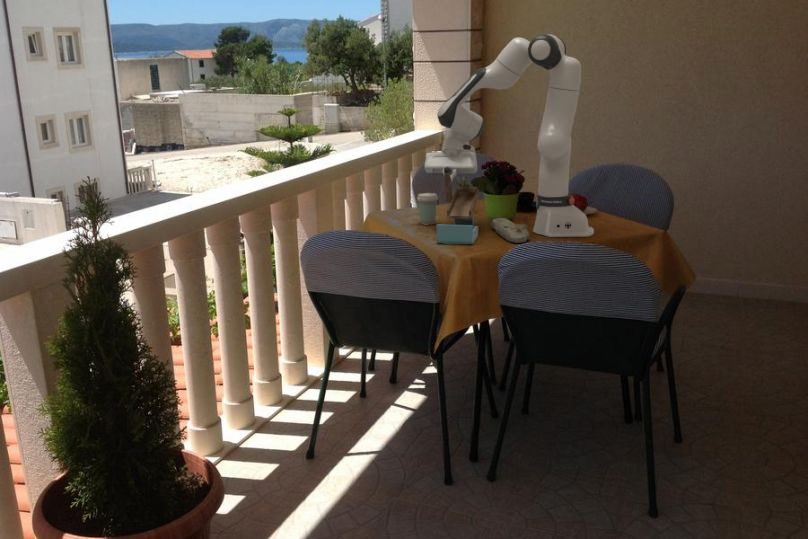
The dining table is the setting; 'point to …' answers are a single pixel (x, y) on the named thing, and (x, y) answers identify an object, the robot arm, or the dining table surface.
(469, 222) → the fulcrum stand
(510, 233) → the elongated rock
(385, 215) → the dining table surface
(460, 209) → the walnut chute
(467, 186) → the house plant
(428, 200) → the coffee cup
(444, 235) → the light blue box
